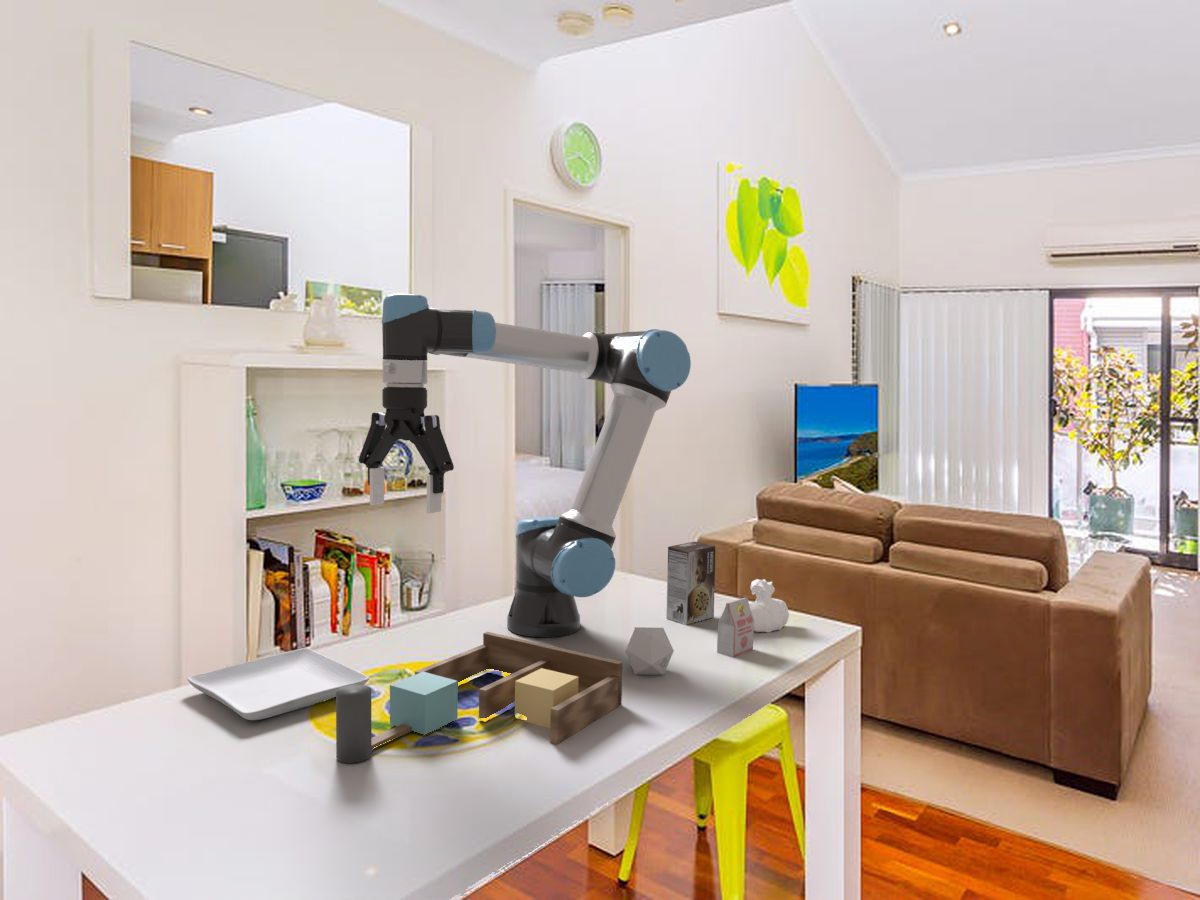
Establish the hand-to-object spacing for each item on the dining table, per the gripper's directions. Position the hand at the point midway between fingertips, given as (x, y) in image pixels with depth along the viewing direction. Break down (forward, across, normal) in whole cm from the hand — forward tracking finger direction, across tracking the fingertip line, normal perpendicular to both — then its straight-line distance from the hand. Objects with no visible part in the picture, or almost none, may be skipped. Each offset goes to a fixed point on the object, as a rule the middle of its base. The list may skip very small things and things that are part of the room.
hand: (404, 508), depth 148 cm
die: (+29, +36, +24) cm, 52 cm away
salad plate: (+29, -8, -20) cm, 36 cm away
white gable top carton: (+29, +44, +44) cm, 69 cm away
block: (+29, +33, -2) cm, 44 cm away
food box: (+29, +27, +59) cm, 71 cm away
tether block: (+28, +19, -22) cm, 41 cm away
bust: (+29, +43, +62) cm, 81 cm away
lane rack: (+29, +26, -1) cm, 39 cm away
